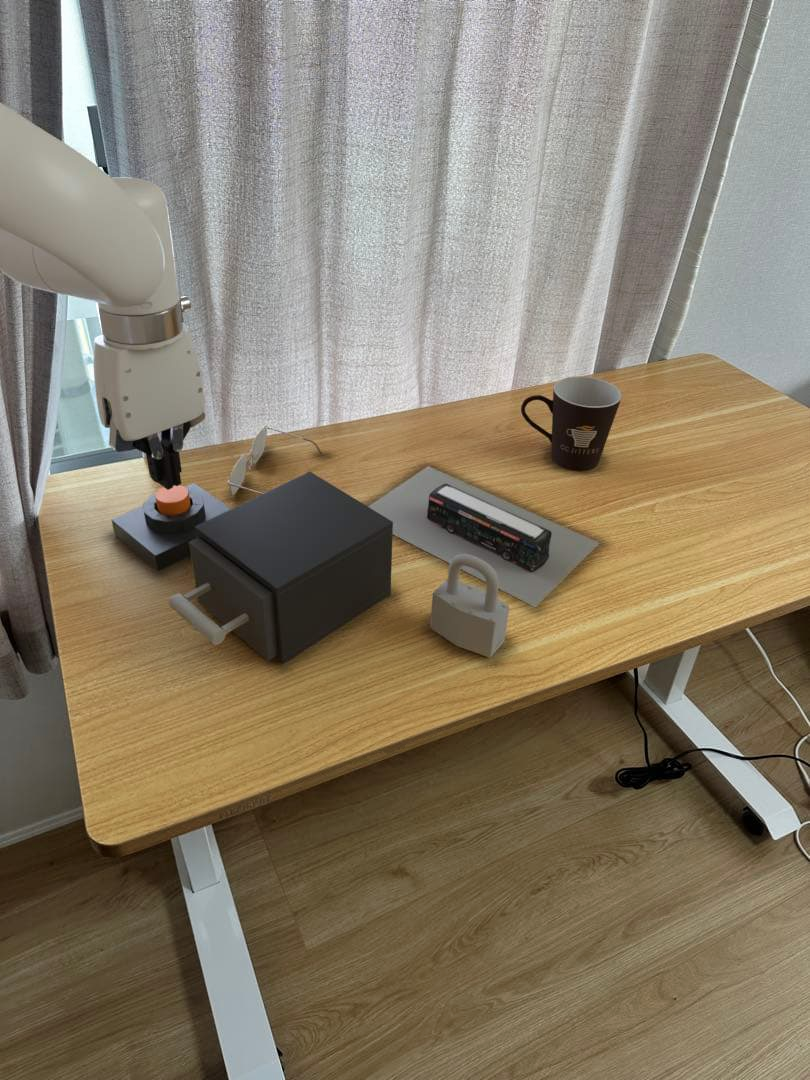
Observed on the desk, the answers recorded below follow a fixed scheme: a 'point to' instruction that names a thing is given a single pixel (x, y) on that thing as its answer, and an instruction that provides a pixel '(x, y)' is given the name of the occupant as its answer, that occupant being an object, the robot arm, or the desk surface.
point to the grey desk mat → (484, 533)
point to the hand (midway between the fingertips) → (167, 481)
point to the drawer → (228, 601)
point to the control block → (166, 528)
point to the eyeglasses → (256, 452)
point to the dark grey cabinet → (308, 556)
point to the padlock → (470, 609)
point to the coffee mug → (579, 420)
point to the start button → (172, 500)
